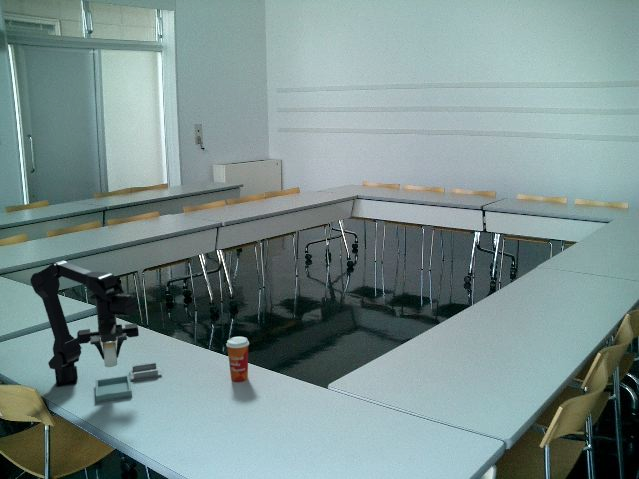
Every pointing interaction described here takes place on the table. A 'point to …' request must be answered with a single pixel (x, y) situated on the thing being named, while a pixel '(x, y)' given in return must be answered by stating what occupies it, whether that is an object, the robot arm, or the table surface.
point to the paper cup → (238, 358)
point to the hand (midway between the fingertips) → (110, 358)
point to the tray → (113, 388)
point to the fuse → (110, 354)
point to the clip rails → (145, 371)
